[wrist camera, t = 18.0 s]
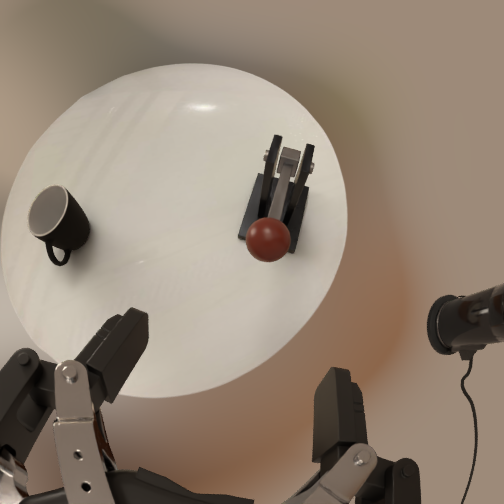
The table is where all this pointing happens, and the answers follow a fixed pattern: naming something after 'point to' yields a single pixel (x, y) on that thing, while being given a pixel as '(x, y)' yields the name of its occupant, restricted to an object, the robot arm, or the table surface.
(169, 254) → the table surface
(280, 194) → the lever
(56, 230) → the mug
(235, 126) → the table surface
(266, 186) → the bracket
